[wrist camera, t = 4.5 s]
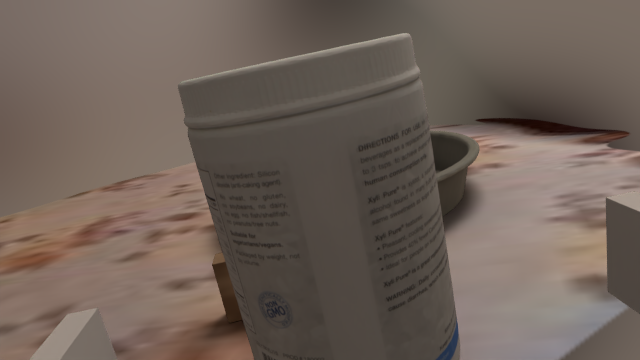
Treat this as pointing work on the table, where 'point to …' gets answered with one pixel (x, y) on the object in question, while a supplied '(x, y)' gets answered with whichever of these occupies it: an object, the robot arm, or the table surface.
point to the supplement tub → (328, 203)
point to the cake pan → (452, 165)
